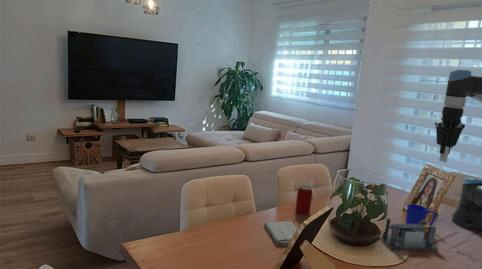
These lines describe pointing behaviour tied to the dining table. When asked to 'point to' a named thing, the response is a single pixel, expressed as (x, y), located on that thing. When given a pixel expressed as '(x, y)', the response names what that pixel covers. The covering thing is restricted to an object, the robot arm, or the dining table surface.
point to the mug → (417, 214)
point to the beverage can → (304, 199)
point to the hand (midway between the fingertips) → (442, 161)
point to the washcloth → (281, 231)
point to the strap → (410, 226)
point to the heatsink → (409, 238)
